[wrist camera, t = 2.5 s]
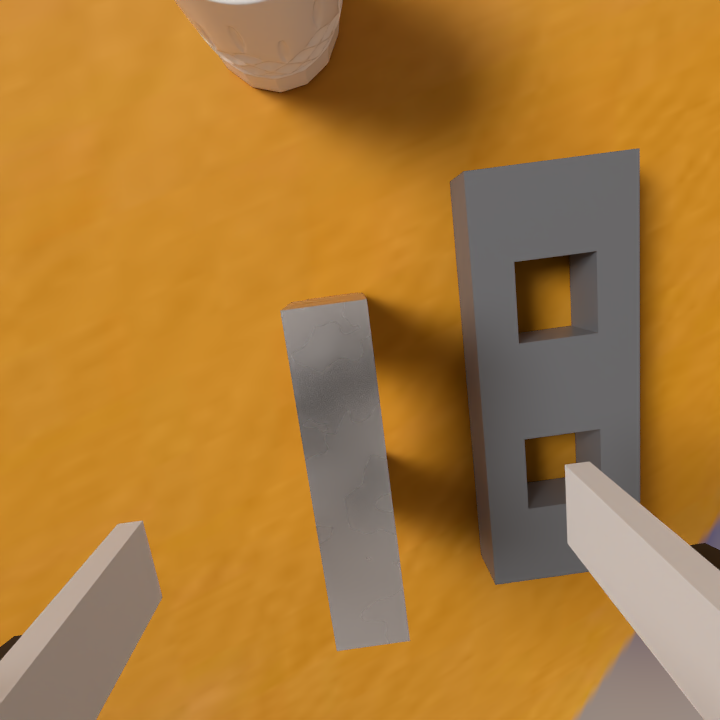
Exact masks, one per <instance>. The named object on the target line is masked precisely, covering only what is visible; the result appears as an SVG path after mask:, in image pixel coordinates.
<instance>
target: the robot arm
mask: <svg viewBox="0 0 720 720" xmlns="http://www.w3.org/2000/svg"><path fill="white" fill-rule="evenodd" d="M565 484H566V513H567V542H568V545H569V546H570V547H571V549H572V550H573V551H574V553H575V554H576V555H577V556H578V558H579V559H580V560H581V562H582V563H583V564H584V565H585V567H586V568H587V569H588V571H589V572H590V573H591V574H592V576H593V577H594V578H595V580H596V581H597V582H598V584H599V585H600V586H601V587H602V589H603V590H604V591H605V593H606V594H607V595H608V596H609V598H610V599H611V600H612V602H613V603H614V604H615V606H616V607H617V608H618V609H619V611H620V612H621V613H622V615H623V616H624V617H625V618H626V620H627V621H628V622H629V624H630V625H631V626H632V627H633V629H634V630H635V631H636V633H637V634H638V635H639V637H640V638H641V639H642V640H643V642H644V643H645V644H646V646H647V647H648V648H649V649H650V651H651V652H652V653H653V655H654V656H655V657H656V659H657V660H658V661H659V662H660V664H661V665H662V666H663V667H664V669H665V670H666V671H667V673H668V674H669V675H670V676H671V678H672V679H673V680H674V682H675V683H676V684H677V686H678V687H679V688H680V690H681V691H682V692H683V693H684V695H685V696H686V697H687V698H688V700H689V701H690V702H691V704H692V705H693V706H694V708H695V709H696V710H697V711H698V713H699V714H700V715H701V717H702V718H703V719H704V720H720V550H718V549H716V548H714V547H712V546H710V545H708V544H706V543H703V544H695V545H689V544H687V543H686V542H685V541H684V540H683V539H681V538H680V537H679V536H678V535H677V534H675V533H674V532H673V531H672V530H671V529H670V528H668V527H667V526H666V525H665V524H664V523H662V522H661V521H660V520H659V519H658V518H656V517H655V516H654V515H653V514H652V513H650V512H649V511H648V510H647V509H646V508H644V507H643V506H642V505H641V504H640V503H638V502H637V501H636V500H635V499H634V498H633V497H631V496H630V495H629V494H628V493H627V492H625V491H624V490H623V489H622V488H621V487H619V486H618V485H617V484H616V483H615V482H613V481H612V480H611V479H610V478H609V477H607V476H606V475H605V474H604V473H603V472H601V471H600V470H599V469H598V468H597V467H596V466H594V465H593V464H592V463H591V462H590V461H589V462H582V463H574V464H567V465H565ZM161 599H162V594H161V590H160V586H159V582H158V578H157V575H156V571H155V567H154V563H153V559H152V555H151V551H150V548H149V544H148V540H147V536H146V532H145V528H144V524H143V521H137V522H129V523H122V524H117V526H116V527H115V528H114V529H113V530H112V531H111V533H110V534H109V535H108V536H107V537H106V538H105V540H104V541H103V542H102V543H101V544H100V545H99V547H98V548H97V549H96V550H95V551H94V552H93V554H92V555H91V556H90V557H89V558H88V559H87V560H86V562H85V563H84V564H83V565H82V566H81V567H80V569H79V570H78V571H77V572H76V573H75V574H74V576H73V577H72V578H71V579H70V580H69V581H68V583H67V584H66V585H65V586H64V587H63V588H62V590H61V591H60V592H59V593H58V594H57V595H56V597H55V598H54V599H53V600H52V601H51V602H50V604H49V605H48V606H47V607H46V608H45V609H44V611H43V612H42V613H41V614H40V615H39V616H38V617H37V619H36V620H35V621H34V622H33V623H32V624H31V626H30V627H29V628H28V629H27V630H26V631H25V633H24V634H23V635H20V636H14V637H13V638H11V639H10V640H9V641H8V642H6V643H5V644H4V645H2V646H1V647H0V720H96V719H97V717H98V715H99V713H100V711H101V709H102V708H103V706H104V704H105V702H106V700H107V698H108V696H109V695H110V693H111V691H112V689H113V687H114V685H115V684H116V682H117V680H118V678H119V676H120V674H121V673H122V671H123V669H124V667H125V665H126V663H127V661H128V660H129V658H130V656H131V654H132V652H133V650H134V649H135V647H136V645H137V643H138V641H139V639H140V638H141V636H142V634H143V632H144V630H145V628H146V626H147V625H148V623H149V621H150V619H151V617H152V615H153V614H154V612H155V610H156V608H157V606H158V604H159V603H160V601H161Z"/></svg>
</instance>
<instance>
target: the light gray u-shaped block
mask: <svg viewBox="0 0 720 720" xmlns="http://www.w3.org/2000/svg"><path fill="white" fill-rule="evenodd" d="M281 317H282V323H283V329H284V335H285V341H286V347H287V353H288V359H289V365H290V371H291V377H292V383H293V389H294V395H295V401H296V407H297V413H298V419H299V425H300V431H301V437H302V443H303V449H304V455H305V461H306V467H307V474H308V480H309V486H310V492H311V498H312V504H313V510H314V516H315V522H316V528H317V534H318V540H319V546H320V552H321V558H322V564H323V570H324V576H325V582H326V588H327V594H328V600H329V606H330V612H331V618H332V624H333V630H334V636H335V642H336V648H337V651H340V650H347V649H354V648H362V647H369V646H376V645H383V644H390V643H397V642H404V641H410V639H409V631H408V623H407V615H406V607H405V599H404V591H403V583H402V575H401V567H400V559H399V551H398V543H397V535H396V527H395V520H394V512H393V504H392V496H391V488H390V480H389V472H388V464H387V456H386V448H385V440H384V432H383V424H382V416H381V408H380V400H379V393H378V385H377V377H376V369H375V361H374V353H373V345H372V337H371V329H370V321H369V313H368V305H367V299H366V297H365V296H364V294H363V293H351V294H344V295H336V296H329V297H321V298H314V299H307V300H304V301H297V302H291V303H290V304H288V305H287V306H286V307H285V308H283V309H282V310H281Z"/></svg>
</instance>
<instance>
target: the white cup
mask: <svg viewBox="0 0 720 720" xmlns="http://www.w3.org/2000/svg"><path fill="white" fill-rule="evenodd" d="M174 1H175V2H176V4H177V5H178V6H179V8H180V9H181V10H182V12H183V13H184V14H185V16H186V17H187V18H188V20H189V21H190V22H191V23H192V25H193V26H194V27H195V28H196V29H197V31H198V32H199V33H200V35H201V36H202V37H203V39H204V40H205V41H206V43H207V44H208V45H209V46H210V47H211V48H212V49H213V50H214V51H215V52H216V53H217V54H218V55H219V57H220V58H221V60H222V61H223V62H224V64H225V65H226V67H227V68H228V69H229V70H230V71H232V72H233V73H234V74H236V75H237V76H238V77H240V78H241V79H242V80H244V81H245V82H246V83H248V84H249V85H250V86H252V87H255V88H260V89H265V90H271V91H276V92H283V91H287V90H290V89H293V88H296V87H299V86H303V85H306V84H308V83H309V82H310V81H311V80H312V79H313V78H314V77H315V76H316V75H317V74H318V73H319V72H320V71H321V70H322V69H323V68H324V67H325V66H326V65H327V64H328V62H329V59H330V56H331V53H332V51H333V48H334V45H335V42H336V39H337V37H338V33H339V18H340V14H341V9H342V3H343V0H174Z"/></svg>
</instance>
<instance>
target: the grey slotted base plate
mask: <svg viewBox="0 0 720 720" xmlns="http://www.w3.org/2000/svg"><path fill="white" fill-rule="evenodd" d="M450 189H451V201H452V213H453V225H454V236H455V248H456V260H457V272H458V284H459V296H460V308H461V320H462V332H463V344H464V356H465V368H466V380H467V392H468V404H469V416H470V428H471V440H472V452H473V463H474V475H475V487H476V499H477V511H478V523H479V535H480V547H481V555H482V557H483V559H484V562H485V564H486V566H487V568H488V570H489V572H490V574H491V576H492V578H493V580H494V583H495V585H497V584H504V583H511V582H518V581H525V580H532V579H540V578H547V577H554V576H561V575H568V574H575V573H582V572H589V571H588V569H587V568H586V567H585V565H584V564H583V563H582V562H581V560H580V559H579V558H578V556H577V555H576V554H575V553H574V551H573V550H572V549H571V547H570V546H569V545H568V542H567V513H566V484H565V478H557V479H550V480H543V481H536V482H528V483H527V474H526V457H525V440H524V439H531V438H539V437H546V436H553V435H561V434H568V433H575V441H576V463H582V462H589V461H590V462H591V463H592V464H593V465H594V466H596V467H597V468H598V469H599V470H600V471H601V472H603V473H604V474H605V475H606V476H607V477H609V478H610V479H611V480H612V481H613V482H615V483H616V484H617V485H618V486H619V487H621V488H622V489H623V490H624V491H625V492H627V493H628V494H629V495H630V496H631V497H633V498H634V499H635V500H636V501H637V502H638V503H640V182H639V149H631V150H624V151H616V152H608V153H601V154H593V155H585V156H578V157H570V158H563V159H555V160H547V161H540V162H532V163H524V164H517V165H509V166H502V167H494V168H486V169H479V170H471V171H463V172H462V173H461V174H460V175H458V176H457V177H456V178H454V179H453V180H452V181H450ZM563 255H569V260H570V291H571V321H572V326H566V327H558V328H551V329H544V330H536V331H529V332H521V333H518V319H517V302H516V285H515V267H514V262H518V261H526V260H533V259H541V258H548V257H556V256H563Z"/></svg>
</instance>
